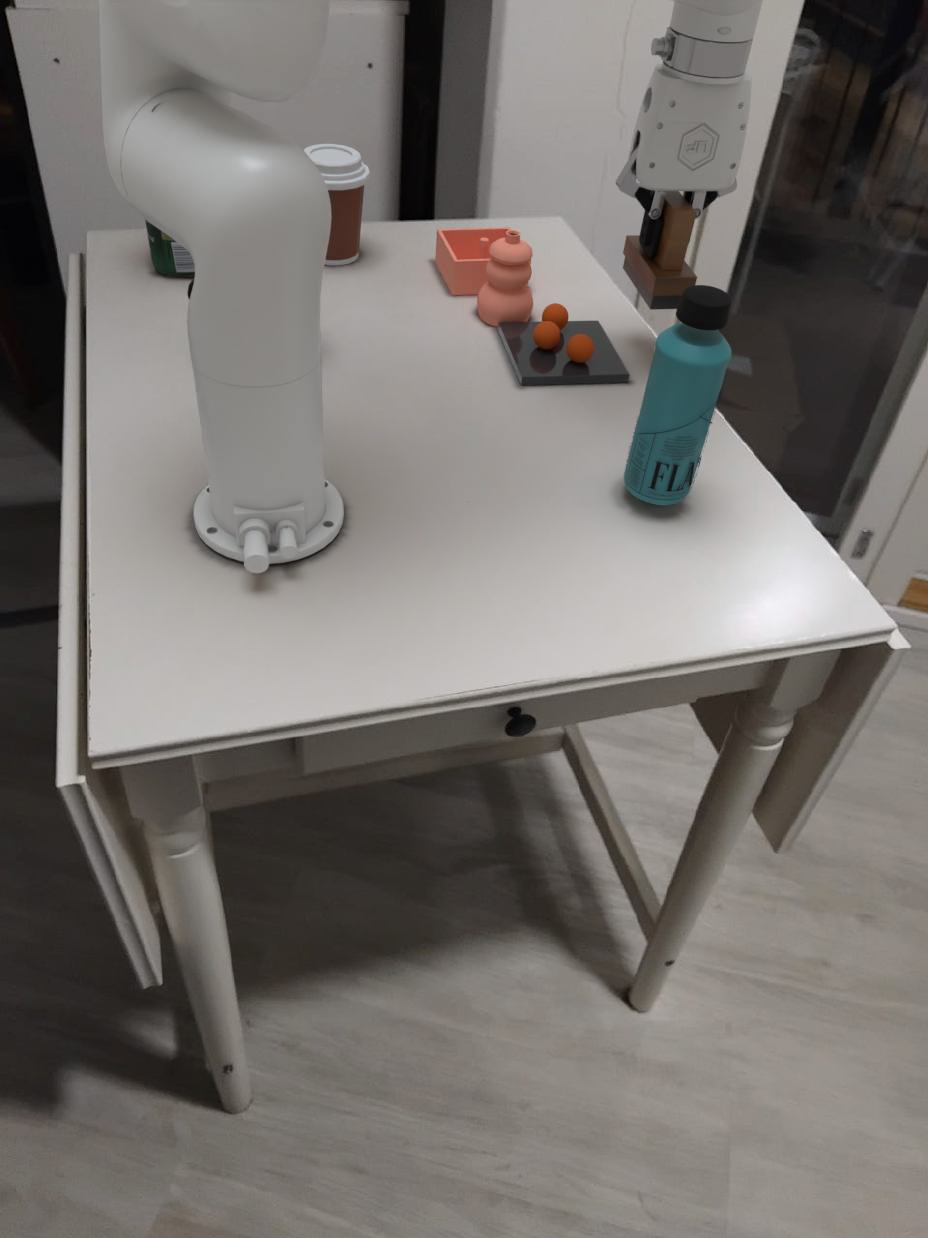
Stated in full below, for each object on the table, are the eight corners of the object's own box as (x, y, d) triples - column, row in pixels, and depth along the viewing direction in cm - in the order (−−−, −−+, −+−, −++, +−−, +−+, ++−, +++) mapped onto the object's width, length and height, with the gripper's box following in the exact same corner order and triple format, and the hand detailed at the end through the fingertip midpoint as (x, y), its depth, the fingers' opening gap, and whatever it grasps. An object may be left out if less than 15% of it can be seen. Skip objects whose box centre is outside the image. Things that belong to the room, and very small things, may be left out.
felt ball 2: (561, 354, 104) (565, 329, 102) (534, 354, 103) (538, 329, 101) (554, 340, 106) (558, 315, 104) (528, 341, 105) (532, 315, 103)
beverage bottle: (634, 523, 85) (689, 315, 71) (607, 479, 89) (653, 276, 75) (699, 515, 87) (765, 311, 73) (669, 473, 91) (726, 272, 77)
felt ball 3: (595, 367, 102) (600, 342, 100) (568, 368, 102) (572, 343, 100) (587, 353, 104) (592, 328, 102) (561, 354, 104) (565, 329, 102)
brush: (689, 309, 99) (713, 217, 92) (648, 310, 98) (669, 217, 91) (658, 266, 106) (678, 177, 99) (619, 267, 105) (637, 177, 98)
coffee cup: (307, 273, 115) (303, 170, 106) (288, 241, 121) (283, 142, 112) (378, 266, 118) (380, 165, 109) (356, 236, 123) (356, 138, 115)
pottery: (435, 261, 120) (439, 182, 113) (506, 259, 122) (515, 180, 115) (471, 331, 108) (478, 246, 101) (549, 327, 110) (562, 244, 103)
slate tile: (627, 382, 103) (629, 374, 102) (520, 385, 100) (522, 377, 100) (596, 328, 111) (598, 320, 110) (497, 329, 109) (498, 321, 108)
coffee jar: (151, 244, 117) (125, 78, 104) (217, 244, 119) (200, 79, 106) (150, 280, 110) (123, 107, 97) (220, 279, 112) (202, 108, 99)
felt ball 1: (569, 335, 107) (573, 310, 105) (543, 336, 106) (547, 311, 104) (562, 322, 109) (566, 298, 107) (537, 323, 108) (540, 298, 106)
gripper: (635, 64, 82) (598, 269, 95) (804, 69, 85) (746, 267, 98) (610, 39, 87) (578, 237, 100) (770, 45, 90) (719, 236, 103)
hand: (661, 250), depth 99 cm, fingers closed on brush, 2 cm apart
